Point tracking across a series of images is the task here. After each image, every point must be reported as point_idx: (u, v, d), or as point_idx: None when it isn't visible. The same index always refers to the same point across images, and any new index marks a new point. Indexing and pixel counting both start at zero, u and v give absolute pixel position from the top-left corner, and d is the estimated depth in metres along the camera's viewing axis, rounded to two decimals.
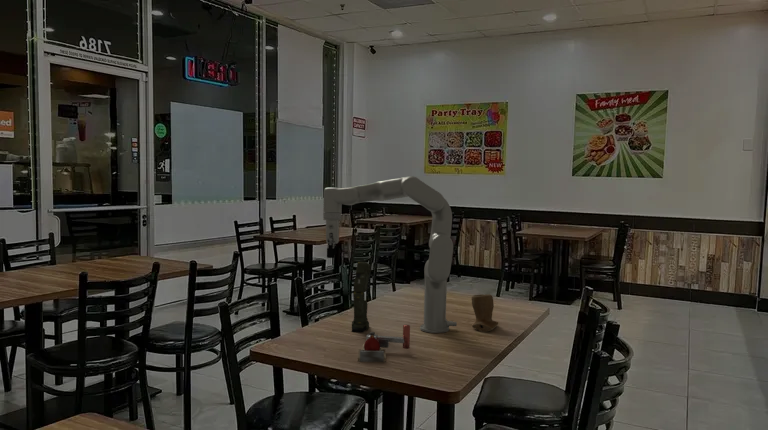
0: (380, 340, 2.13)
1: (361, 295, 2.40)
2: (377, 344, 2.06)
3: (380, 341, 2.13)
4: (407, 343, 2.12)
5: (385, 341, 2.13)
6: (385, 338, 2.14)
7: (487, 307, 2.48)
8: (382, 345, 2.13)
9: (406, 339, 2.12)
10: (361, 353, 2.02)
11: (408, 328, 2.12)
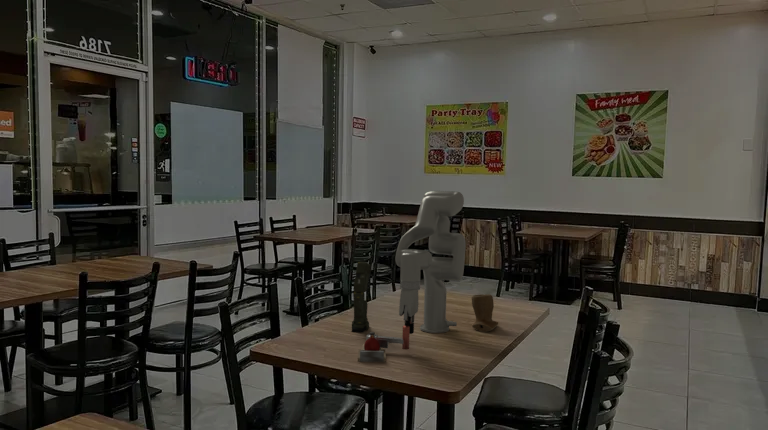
0: (379, 340, 2.13)
1: (361, 295, 2.40)
2: (377, 344, 2.06)
3: (380, 342, 2.13)
4: (406, 344, 2.11)
5: (384, 341, 2.13)
6: (385, 338, 2.13)
7: (487, 307, 2.48)
8: (381, 345, 2.13)
9: (406, 340, 2.11)
10: (361, 353, 2.02)
11: (407, 329, 2.11)
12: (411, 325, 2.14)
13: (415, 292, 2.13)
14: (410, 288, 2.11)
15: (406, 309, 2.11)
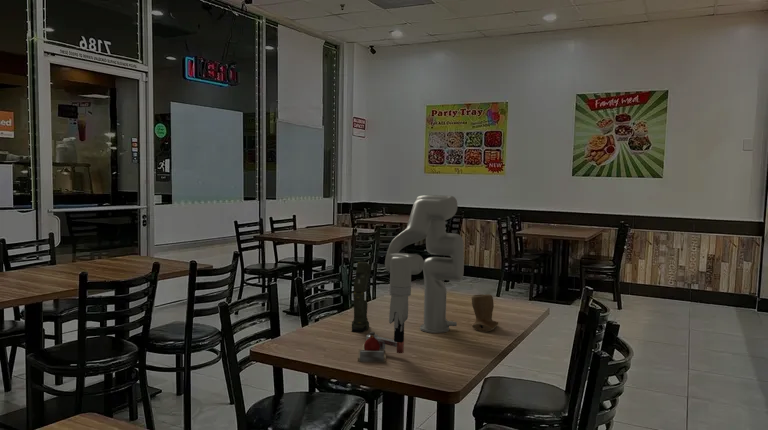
0: None
1: (361, 295, 2.40)
2: (377, 344, 2.06)
3: None
4: (399, 347, 2.07)
5: (380, 342, 2.11)
6: (381, 340, 2.11)
7: (487, 307, 2.48)
8: None
9: (399, 343, 2.07)
10: (361, 353, 2.02)
11: None
12: (401, 333, 2.03)
13: (406, 298, 2.01)
14: (401, 294, 1.99)
15: (397, 316, 1.99)
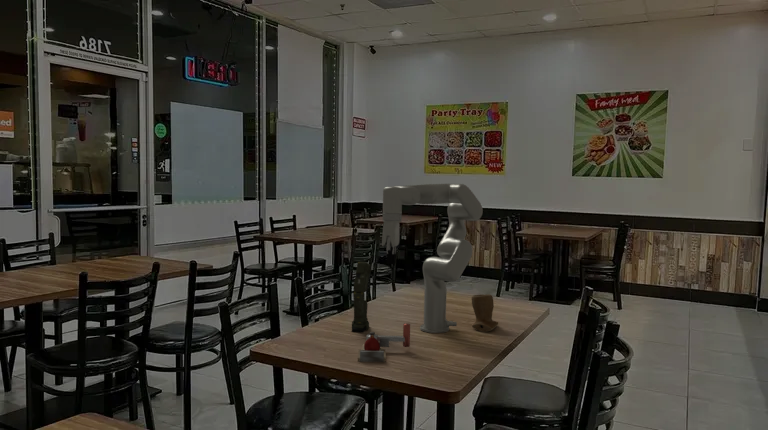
0: (381, 340, 2.14)
1: (361, 295, 2.40)
2: (377, 344, 2.06)
3: (381, 341, 2.14)
4: (408, 341, 2.14)
5: (386, 340, 2.14)
6: (386, 337, 2.14)
7: (487, 307, 2.48)
8: (383, 345, 2.14)
9: (407, 337, 2.14)
10: (361, 353, 2.02)
11: (409, 327, 2.14)
12: (393, 256, 2.26)
13: (397, 224, 2.24)
14: (392, 219, 2.22)
15: (389, 239, 2.22)
